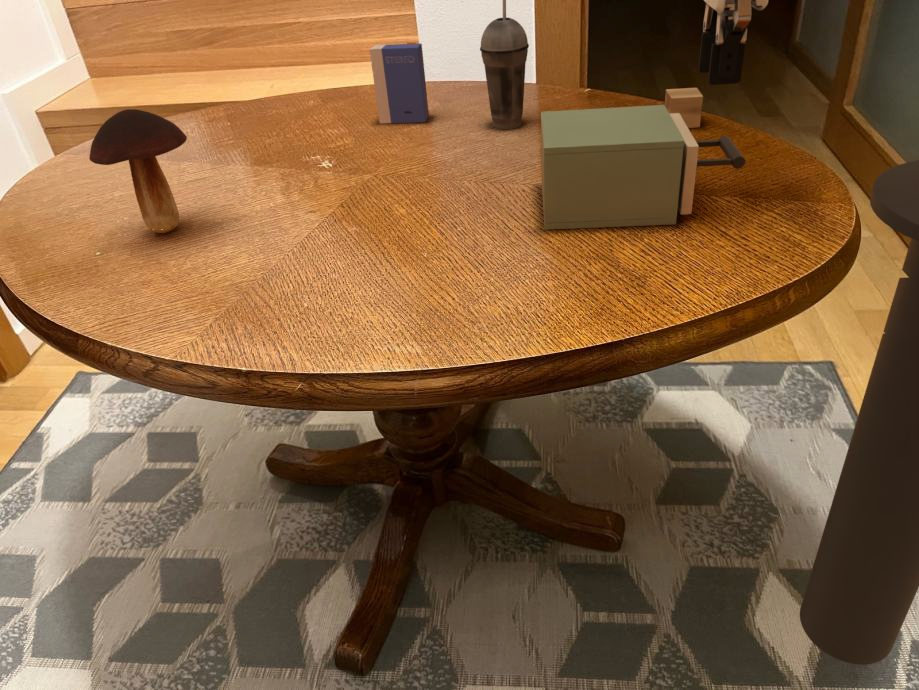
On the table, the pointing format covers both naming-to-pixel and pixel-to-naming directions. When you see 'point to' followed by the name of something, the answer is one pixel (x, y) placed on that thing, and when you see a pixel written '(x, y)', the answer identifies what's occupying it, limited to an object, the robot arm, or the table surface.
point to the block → (685, 104)
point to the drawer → (700, 161)
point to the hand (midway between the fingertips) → (718, 75)
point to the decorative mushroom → (142, 160)
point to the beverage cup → (505, 69)
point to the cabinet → (610, 167)
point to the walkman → (400, 83)
